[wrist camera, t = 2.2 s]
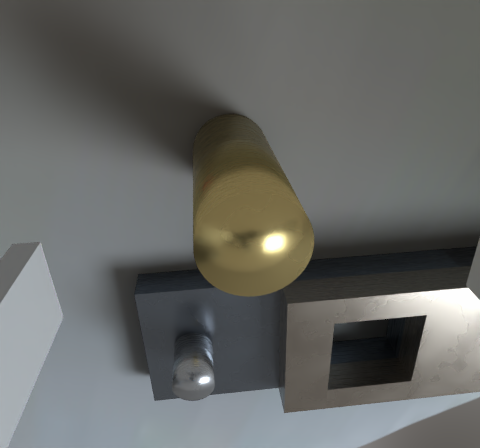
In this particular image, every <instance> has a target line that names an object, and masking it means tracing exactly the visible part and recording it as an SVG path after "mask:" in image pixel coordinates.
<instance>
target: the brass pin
mask: <svg viewBox="0 0 480 448" xmlns="http://www.w3.org/2000/svg"><path fill="white" fill-rule="evenodd" d="M193 248H194V258H195V262H196V265H197V267H198V269H199V271H200V272H201V274H202V275H203V276H204V278H205V279H206V280H207V281H208V282H209V283H211V284H212V285H213V286H214V287H216V288H218V289H220V290H222V291H224V292H226V293H229V294H233V295H238V296H247V297H250V296H261V295H266V294H270V293H273V292H275V291H278V290H280V289H282V288H284V287H286V286H287V285H289V284H290V283H291V282H293V281H294V280H295V279H296V278H297V277H298V276H299V275H300V274H301V273H302V272H303V271H304V269H305V268H306V266H307V265H308V263H309V261H310V258H311V256H312V253H313V248H314V233H313V228H312V225H311V223H310V221H309V219H308V217H307V215H306V213H305V211H304V209H303V207H302V206H301V204H300V202H299V200H298V198H297V196H296V194H295V192H294V190H293V189H292V187H291V185H290V183H289V181H288V179H287V177H286V175H285V174H284V172H283V170H282V168H281V166H280V164H279V162H278V160H277V158H276V157H275V155H274V153H273V151H272V149H271V147H270V145H269V143H268V141H267V140H266V138H265V136H264V134H263V132H262V130H261V129H260V128H259V126H258V125H257V124H256V123H254V122H253V121H252V120H250V119H249V118H247V117H244V116H241V115H237V114H224V115H220V116H217V117H215V118H213V119H211V120H209V121H208V122H207V123H205V124H204V125H203V126H202V128H201V129H200V130H199V132H198V134H197V135H196V138H195V141H194V145H193Z"/></svg>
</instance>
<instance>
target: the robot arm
mask: <svg viewBox="0 0 480 448" xmlns="http://www.w3.org/2000/svg"><path fill="white" fill-rule="evenodd" d="M466 286H467V287H468V288H469V289H470V290H471V291H472V292H473V294H474V295H475V296H476V297H477V298H478V299H479V300H480V238H479V242H478V245H477V249H476V252H475V256H474V259H473V262H472V266H471V269H470V273H469V276H468V280H467V283H466ZM62 319H63V314H62V311H61V307H60V304H59V301H58V298H57V294H56V291H55V288H54V285H53V281H52V278H51V275H50V271H49V268H48V265H47V262H46V258H45V255H44V252H43V249H42V245H41V242H34V243H20V244H12V245H11V247H10V248H9V249H8V251H7V252H6V253H5V255H4V256H3V257H2V259H1V260H0V448H8V446H9V443H10V441H11V439H12V436H13V434H14V432H15V429H16V427H17V424H18V422H19V420H20V417H21V415H22V413H23V410H24V408H25V406H26V403H27V401H28V399H29V396H30V394H31V392H32V389H33V387H34V385H35V382H36V380H37V378H38V375H39V373H40V371H41V368H42V366H43V364H44V361H45V359H46V357H47V354H48V352H49V350H50V347H51V345H52V343H53V340H54V338H55V336H56V333H57V331H58V329H59V326H60V324H61V322H62Z"/></svg>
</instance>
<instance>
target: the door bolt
mask: <svg viewBox="0 0 480 448" xmlns="http://www.w3.org/2000/svg"><path fill="white" fill-rule="evenodd" d="M476 249H477V247H467V248H455V249H442V250H430V251H418V252H406V253H394V254H382V255H369V256H357V257H345V258H333V259H321V260H310V261H309V263H308V265H307V266H306V268H305V269H304V271H303V272H302V273H301V274H300V275H299V276H298V277H297V278H296V279H295V280H294V281H293V282H291V283H290V284H289V285H287V286H286V287H284V288H282V289H280V290H278V291H275V292H273V293H270V294H266V295H261V296H250V297H247V296H238V295H233V294H229V293H226V292H224V291H222V290H220V289H218V288H216V287H214V286H213V285H212V284H211V283H209V282H208V281H207V280H206V279H205V278H204V276H203V275H202V274H201V272H200V271H199V270H187V271H175V272H163V273H151V274H138V279H137V284H136V289H135V294H134V295H135V301H136V306H137V311H138V316H139V321H140V327H141V332H142V337H143V342H144V347H145V353H146V358H147V363H148V368H149V374H150V379H151V384H152V389H153V394H154V400H155V401H156V400H166V399H175V398H181V399H184V400H189V401H195V400H200V399H203V398H205V397H207V396H209V395H214V394H223V393H233V392H242V391H252V390H262V389H271V388H279V391H280V396H281V400H282V405H283V409H284V413H288V412H297V411H307V410H316V409H325V408H334V407H343V406H352V405H362V404H371V403H380V402H389V401H398V400H408V399H417V398H426V397H435V396H444V395H454V394H463V393H472V392H480V300H479V299H478V298H477V297H476V296H475V295H474V294H473V292H472V291H471V290H470V289H469V288H468V287H467V286H466V283H467V280H468V276H469V273H470V269H471V266H472V262H473V259H474V256H475V252H476ZM380 319H389V323H388V329H387V334H386V337H381V338H371V339H360V340H350V341H340V342H333V332H334V324H337V323H348V322H359V321H369V320H380Z"/></svg>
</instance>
